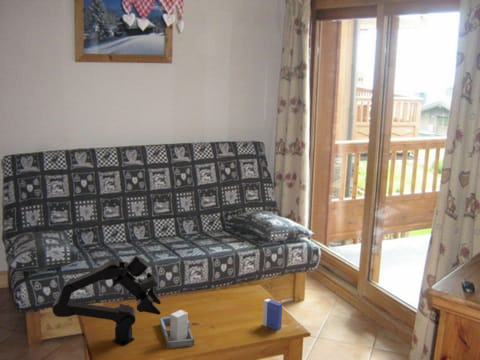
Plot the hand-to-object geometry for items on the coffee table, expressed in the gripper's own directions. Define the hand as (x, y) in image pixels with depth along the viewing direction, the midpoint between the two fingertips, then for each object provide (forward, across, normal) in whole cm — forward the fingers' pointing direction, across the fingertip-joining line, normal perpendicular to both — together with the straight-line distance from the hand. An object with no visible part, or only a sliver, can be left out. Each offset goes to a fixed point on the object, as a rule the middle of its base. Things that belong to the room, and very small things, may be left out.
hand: (160, 308), depth 235 cm
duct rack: (+14, +4, +5) cm, 16 cm away
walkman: (+44, +9, -23) cm, 51 cm away
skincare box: (+15, -1, +5) cm, 16 cm away
